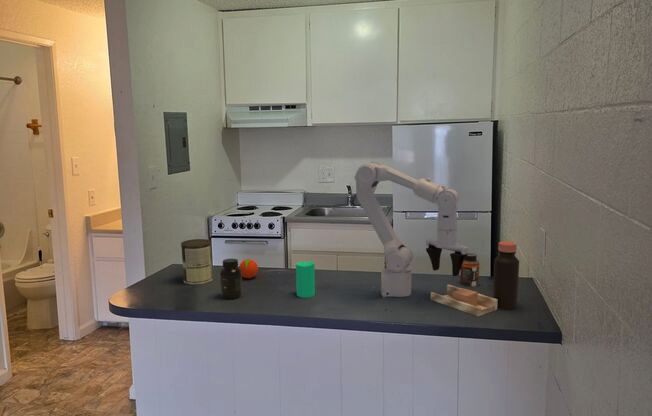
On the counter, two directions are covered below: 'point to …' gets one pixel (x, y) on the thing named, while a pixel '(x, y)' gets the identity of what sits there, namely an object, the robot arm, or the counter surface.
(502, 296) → the vinegar
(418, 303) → the counter surface
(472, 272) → the supplement bottle
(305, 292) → the candle
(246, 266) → the red tomato
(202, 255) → the coffee can
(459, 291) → the block
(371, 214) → the robot arm
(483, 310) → the wooden tray
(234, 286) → the supplement bottle
